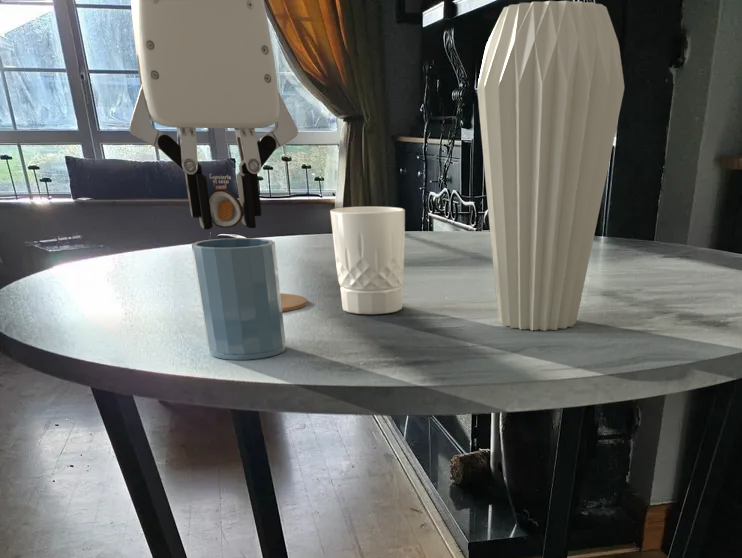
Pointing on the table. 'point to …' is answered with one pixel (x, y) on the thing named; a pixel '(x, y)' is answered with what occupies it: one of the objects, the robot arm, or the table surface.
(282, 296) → the cork coaster
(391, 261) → the white cup
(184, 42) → the robot arm
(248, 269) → the tumbler
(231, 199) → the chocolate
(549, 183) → the vase
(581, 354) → the table surface
